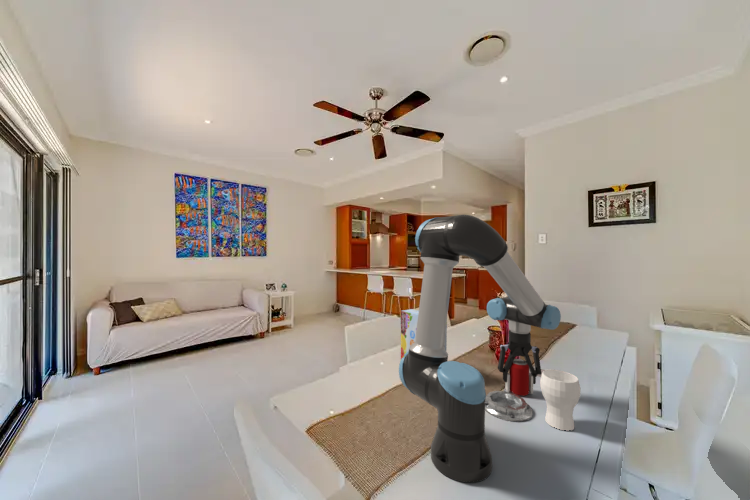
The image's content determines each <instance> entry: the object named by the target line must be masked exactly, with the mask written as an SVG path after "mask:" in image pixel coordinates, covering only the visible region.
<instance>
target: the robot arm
mask: <svg viewBox="0 0 750 500" xmlns="http://www.w3.org/2000/svg"><path fill="white" fill-rule="evenodd" d="M414 239H415V240H414V241H415V246H416V247H417V250H418V251H419V253H420V258H419V259H420V260H421V262H422V263H423V264H424V266H423V275H422V280H421V281H422V282H421V290H420V298H419V306H418V310H419V313H418V321H417V329H416V338H415V342H414V344H412V345H411V346H410V347H409V351H408V352H407V353H405V355H404V357H403V358H402V359H401V358H400V361H399V366H398V376H399V380H400V382H401V383H402V385H403V386H404V387H405V388H406V389H407V390H409V392H410V393H411V394H413V395H415V396H417V397H418V398H420V399H421V400H423V401H425V402H426V403H427V404H429V405H431V406H432V407H433V408H435V409H436V410H437V428H436V430H435V432H434V435H433V439H432V441H431V445H430V459H431V462H432V464H433V465H434V467H435V468H436V469H437V470H438V471H439V472H440V473H441V474H443V475H445V476H446V477H447V478H450V479H452V480H455V481H458V482H461V483H462V482H463V483H477V482H481V480H482V481H484V480H485V478H486V479H487V478H488V477H489V476H490V475H491V473H492V470H493V457H492V452H491V450H490V447H489V443H488V440H487V437H486V432H485V431H486V427H485V424H486V423H485V422H486V411H485V398H486V396H487V392H486V386H485V385H486V384H485V379H484V377H483V374H482V373H481V371H479V370H478V369H477V368H476V367H474V366H472V365H470V364H468V363H465V362H459V361H455V360H454V361H453V360H449V359H448V358H449V354H448V353H449V352H447V349H446V350H445V349H444V340H445V331H446V323H448V311H449V306H450V305H449V303H450V295H451V287H452V279H453V272H454V271H453V269H454V267H456V266H457V265H458V264H459V262H460V257H461V256H463V257H467V258H470V259H472V260H473V261H474V262H475V263H476V265H478V266H480V267H484V268H485V270H486V271H487V272H488V273H489V275H490V276H491V277H492V278H493V279H494V281H495V282H496V283H497V285H498V286H499V287H500V288H501V289H502V291H503V292H504V293H505V295H506V297H496V298H493V299H490V300H489V301H488V302H487V303H486V312H487V315H488V317H489V318H491V319H492V320H494V321H503V320H506V321H508V329H509V330H508V342H507V344H499V350H500V352H499V356H498V357H499V358H498V364H497V369H498V371H499V372H500V373H502V380H503V383H505V384H504V385H505V387H504V388H505V390H506V392H510V393H511V391H510V374H509V369H510V367H511V365H512V363H513V360H514V359H516V358H517V357H524V360H525V361H526V362H527V364H528V366H529V370H530V372H531V373H529V394H531V395H532V394H534V385H536V383H537V378H538V376H537V375H538V374H539V375H541V369H542V367H541V366H542V365H541V362H540V348H539V347H538V346H536V345H535V346H533V345H532V344H531V339H532V338H531V337H532V336H531V330H532V327H536V328H540V329H545V330H556V329H557V328H558V327H559V326H560V322H561V318H562V315H561V311H560V309H559V307H558V306H555V305H551V304H546V303H545V302H544V300H543V299H542V297H541V296H540V295H539V294H538V292H537V290H536V289H535V288H534V286H533V285H532V284H531V282H530V281H529V279H528V278H527V277H526V275H525V273H523V271H522V269H520V267H519V265H518V264H517V262H515V260H514V259H513V257H512V256H511V255H510V253H509V252H508V251H509V246H508V244H507V242H506V241H505V239H504V238H503V237H502V236H501V235H500V233H499V232H498V231H497V230H496V229H495V228H493V227H492V226H491V225H490V224H488V223H487V222H485V221H484V220H482V219H481V218H479V217H476V216H474V215H471V214H457V215H451V216H440V217H439V216H438V217H434V218H430V219H426V220H425V221H423V222H422V223H421V224H420V225H419V227H418V229H417V230H416V233H415V237H414ZM531 326H532V327H531ZM508 349H509V354H508V357H507V359H506V355H507V354H506V353H507V351H508ZM530 352H532V356H533V362H534V365H533V363H532V360H531V359H530V355H529V353H530ZM505 359H506V361H505ZM534 368H535V370H534Z"/></svg>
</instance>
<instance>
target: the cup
mask: <svg viewBox="0 0 750 500" xmlns="http://www.w3.org/2000/svg"><path fill="white" fill-rule="evenodd" d="M544 370H545V371H543V372H542V376H541V377H540V380H539V381H540V384H539V385H540V386H539V387H540V389H541V394H542V396H543V398H544V400H545V402H546V403H545V404H546V411H545V412H546V413H545V418H544V420H545V422H546V423H547V425H549V426H550V427H552V428H554V427H555V428H554V429H556V428H557V429H556V430H559V429H560V431H564V430H566V431H565V432H570V431H569V430H571V431H573V430H574V429H575V422H574V420H575V419H574V416H573V414H574V409H575V407H576V406H577V404H578V403H579V400H580V398H581V385H580V381H579V378H578V377H577V376H576V375H574V374H573V373H570V372H568V371H563V370H561V369H560V370H559V369H544Z"/></svg>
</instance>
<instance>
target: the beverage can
mask: <svg viewBox="0 0 750 500" xmlns="http://www.w3.org/2000/svg"><path fill="white" fill-rule="evenodd" d="M508 373H509V374H510V393H513V394H515V395H518V396H520V397H524V396H527V395H529V394H530V392H529V366H528V364H527V362H526V360H525V359H521V358H515V359H514V360H513V363H512V365H511V367H510V369H509V371H508Z"/></svg>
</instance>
